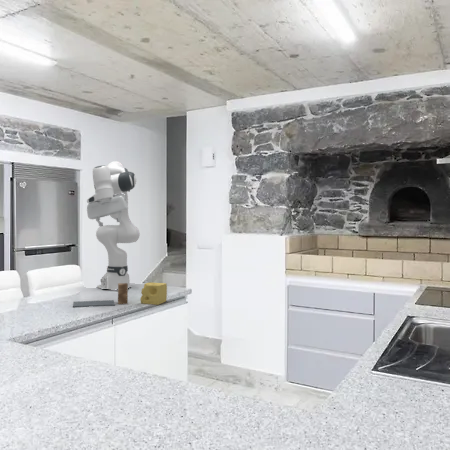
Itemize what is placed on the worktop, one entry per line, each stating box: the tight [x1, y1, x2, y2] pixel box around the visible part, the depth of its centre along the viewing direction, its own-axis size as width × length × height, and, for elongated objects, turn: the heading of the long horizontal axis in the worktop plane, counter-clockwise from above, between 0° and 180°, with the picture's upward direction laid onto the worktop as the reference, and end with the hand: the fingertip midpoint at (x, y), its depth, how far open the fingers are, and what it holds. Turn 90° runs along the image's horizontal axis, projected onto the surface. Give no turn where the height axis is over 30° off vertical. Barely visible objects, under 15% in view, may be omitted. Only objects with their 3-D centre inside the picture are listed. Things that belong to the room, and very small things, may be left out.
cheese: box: [140, 281, 168, 306], centre depth 240 cm, size 10×11×10 cm
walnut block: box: [117, 283, 129, 305], centre depth 236 cm, size 4×4×10 cm
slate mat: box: [72, 299, 116, 308], centre depth 233 cm, size 20×12×1 cm, turn 107°
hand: (110, 224), depth 225 cm, fingers open, 8 cm apart
